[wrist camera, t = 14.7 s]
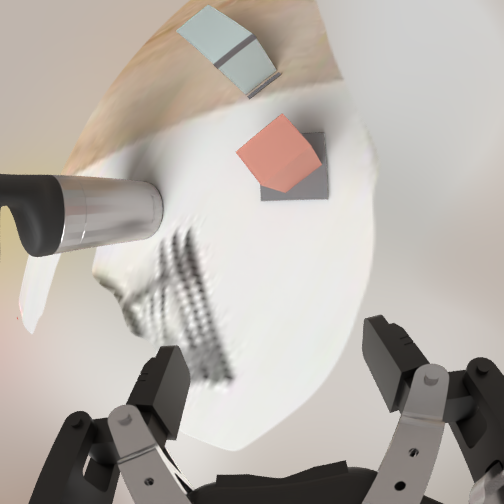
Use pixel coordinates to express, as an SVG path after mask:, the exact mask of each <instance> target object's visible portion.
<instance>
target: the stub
mask: <svg viewBox="0 0 504 504" xmlns="http://www.w3.org/2000/svg"><path fill="white" fill-rule="evenodd" d="M236 153H237V155H238V156H239V157H240V158H241V160H242V161H243V162H244V163H245V165H246V166H247V167H248V169H249V170H250V171H251V172H252V174H253V175H254V176H255V178H256V179H257V180H258V182H259V183H260V184H261V186H265V187H268V188H271V189H274V190H277V191H281V192H284V193H286V192H287V191H289V190H290V189H291V188H293V187H294V186H295V185H296V184H298V183H299V182H300V181H302V180H303V179H304V178H306V177H307V176H308V175H309V174H311V173H312V172H313V171H315V170H316V169H317V168H319V167H320V166H321V165H322V164H321V162H320V160H319V158H318V157H317V155H316V153H315V151H314V150H313V148H312V146H311V145H310V144H309V143H308V141H307V140H306V139H305V138H304V137H303V136H302V134H301V133H300V132H299V131H298V130H297V129H296V128H295V127H294V125H293V124H292V123H291V122H290V121H289V120H288V119H287V118H286V117H285V116H284V115H283V114H281V115H280V116H278V117H277V118H276V119H275V120H273V121H272V122H271V123H270V124H268V125H267V126H266V127H265V128H264V129H262V130H261V131H260V132H259V133H257V134H256V135H255V136H254V137H253V138H252V139H250V140H249V141H248V142H247V143H246V144H244V145H243V146H242V147H241V148H240V149H239V150H238V151H236Z"/></svg>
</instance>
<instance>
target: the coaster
mask: <svg viewBox="0 0 504 504" xmlns="http://www.w3.org/2000/svg"><path fill="white" fill-rule="evenodd" d="M302 136H303V137H304V138H305V139H306V140H307V141H308V143H309V144H310V145H311V146H312V148H313V150H314V151H315V153H316V155H317V157H318V158H319V160H320V162H321V164H322V165H321V166H320V167H319V168H317V169H316V170H315V171H313V172H312V173H311V174H309V175H308V176H307V177H306V178H304V179H303V180H302V181H300V182H299V183H298V184H296V185H295V186H294V187H293V188H291V189H290V190H289V191H287V192H286V193H284V192H281V191H277V190H274V189H271V188H268V187H265V186H261V184H260V188H261V201H281V200H319V199H328V185H327V166H326V151H325V139H324V132H319V133H303V134H302Z"/></svg>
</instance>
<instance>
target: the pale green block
mask: <svg viewBox="0 0 504 504" xmlns="http://www.w3.org/2000/svg"><path fill="white" fill-rule="evenodd" d="M177 32H178V33H179V34H180V35H181V36H183V37H184V38H185V39H186V40H187V41H188V42H190V43H191V44H192V45H193V46H194V47H195V48H196V49H197V50H199V51H200V52H201V53H202V54H203V55H204V56H205V57H206V58H207V59H208V60H209V61H211V62H212V63H213V65H214V66H215V67H216V68H217V69H219V70H220V71H221V72H222V73H223V74H225V75H226V76H227V77H228V78H229V79H230V80H231V81H232V82H233V83H234V84H235V85H236V86H237V87H238V88H239V89H240V90H241V91H242V92H243V93H244V94H245V95H246V94H247V93H249V92H250V91H251V90H252V89H254V88H255V87H256V86H257V85H259V84H260V83H261V82H262V81H264V80H265V79H266V78H268V77H269V76H270V75H272V74H273V73H274V72H276V71H277V70H276V68H275V67H274V65H273V63H272V62H271V60H270V59H269V57H268V56H267V54H266V52H265V51H264V49H263V48H262V46H261V45H260V43H259V42H258V40H257V38H256V36H255V35H254V34H252V33H251V32H249V31H248V30H247V29H245V28H244V27H242V26H241V25H239V24H238V23H237V22H235V21H234V20H232V19H231V18H229V17H227V16H226V15H224V14H223V13H221V12H220V11H218V10H216V9H215V8H213V7H211V6H210V5H207V6H206V7H205V8H203V9H202V10H201V11H199V12H198V13H197V14H196V15H194V16H193V17H192V18H191V19H189V20H188V21H187V22H186V23H185V24H183V25H182V26H181V27H180V28H179V29H178V30H177ZM280 75H281V74H280V73H277V74H276V75H275V76H273V77H272V78H271V79H269V80H268V81H267V82H265V83H264V84H263V85H261V86H260V87H259V88H258V89H256V90H255V91H254V92H253V93H251V94H250V95H249V96H248V98H249V99H250V98H252V97H253V96H254V95H255V94H257V93H258V92H259V91H260V90H262V89H263V88H264V87H265V86H267V85H268V84H269V83H271V82H272V81H273V80H275V79H276V78H277V77H279V76H280Z"/></svg>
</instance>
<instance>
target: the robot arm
mask: <svg viewBox="0 0 504 504" xmlns="http://www.w3.org/2000/svg"><path fill="white" fill-rule="evenodd" d="M2 206H8V207H9V209H10V211H11V213H12V215H13V217H14V220H15V223H16V227H17V231H18V234H19V237H20V240H21V243H22V245H23V247H24V248H25V250H26V251H27V253H29V254H30V255H31V256H34V257H42V256H47V255H52V254H57V253H63V252H69V251H73V250H79V249H85V248H91V247H98V246H104V245H110V244H117V243H123V242H131V241H137V240H144V239H147V238H149V237H151V236H152V235H153V234H154V233H155V232H156V231H157V229H158V228H159V226H160V223H161V220H162V214H163V206H162V200H161V196H160V194H159V192H158V190H157V189H156V188H155V187H154V186H153V185H152V184H150V183H148V182H142V181H133V180H124V179H112V178H99V177H85V176H65V175H8V174H0V208H1V207H2ZM362 351H363V356H364V359H365V361H366V363H367V365H368V367H369V369H370V371H371V374H372V376H373V378H374V380H375V382H376V384H377V386H378V388H379V390H380V392H381V394H382V396H383V399H384V401H385V403H386V405H387V407H388V409H389V411H390V413H391V412H394V411H397V410H399V411H400V413H401V417H400V419H399V422H398V425H397V428H396V430H395V433H394V435H393V438H392V440H391V443H390V445H389V447H388V449H387V452H386V454H385V456H384V458H383V460H382V462H381V465H380V467H379V469H378V471H374V470H370V469H366V468H360V467H347V464H346V460H345V461H340V462H336V463H332V464H327V465H322V466H317V467H313V468H310V469H308V470H305V471H302V472H300V473H297V474H294V475H291V476H288V477H285V478H269V477H262V476H255V475H249V474H246V475H245V474H244V475H217V478H216V482H213V483H210V484H206V485H204V486H201V487H199V488H197V489H195V488H194V487H193V486H192V485H191V483H190V482H189V481H188V480H187V479H186V477H185V476H184V475H183V473H182V472H181V470H180V468H179V467H178V465H177V464H176V462H175V461H174V459H173V458H172V456H171V455H170V453H169V451H168V450H167V448H166V447H165V443H166V440H176V438H177V434H178V430H179V426H180V422H181V418H182V414H183V410H184V406H185V402H186V398H187V394H188V390H189V386H190V373H189V370H188V367H187V365H186V362H185V360H184V357H183V355H182V352H181V350H180V348H179V346H177V345H176V346H161V347H160V349H159V351H158V353H157V355H156V358H151V359H150V360H149V361H148V362H147V363H146V364H145V365H144V367H143V369H142V371H141V375H139V377H138V379H137V382H136V384H135V386H134V388H133V390H132V392H131V394H130V397H129V399H128V401H127V403H126V405H122V406H119V407H117V408H115V409H114V410H113V411H112V412H111V413H110V414H109V417H108V418H102V419H92V418H91V417H90V416H89V414H88V413H86V412H84V411H77V412H74V413H72V414H70V415H69V416H68V417H67V418H66V420H65V422H64V424H63V426H62V428H61V430H60V432H59V434H58V436H57V438H56V440H55V442H54V444H53V446H52V448H51V451H50V453H49V455H48V457H47V459H46V461H45V464H44V466H43V468H42V471H41V473H40V476H39V478H38V481H37V483H36V485H35V488H34V491H33V493H32V496H31V499H30V501H29V504H112V502H113V498H114V494H115V490H116V486H117V482H118V478H119V475H120V472H121V474H122V476H123V479H124V481H125V484H126V486H127V488H128V490H129V492H130V494H131V496H132V498H133V500H134V502H135V504H443V503H441V502H438V501H436V500H433V499H431V498H429V497H427V496H425V495H424V492H425V490H426V487H427V485H428V482H429V479H430V476H431V473H432V470H433V467H434V464H435V461H436V458H437V454H438V450H439V447H440V443H441V439H442V435H443V431H444V425H445V423H449V425H450V427H451V429H452V432H453V434H454V436H455V438H456V440H457V442H458V444H459V447H460V449H461V451H462V453H463V456H464V458H465V461H466V463H467V465H468V468H469V470H470V473H471V475H472V478H473V480H474V483H475V484H474V485H473V487H472V489H471V491H470V495H469V504H504V375H503V374H502V373H501V372H500V370H499V369H498V368H497V366H496V365H495V364H494V363H493V362H492V361H491V360H489V359H487V358H483V357H480V358H479V357H478V358H475V359H473V360H471V361H470V362H469V364H468V366H467V368H466V370H461V371H453V372H447V370H446V369H445V368H444V367H442V366H440V365H437V364H430V363H429V362H428V360H427V359H426V358H425V356H424V355H423V354H422V352H421V351H420V350H419V348H418V347H417V346H416V344H415V343H413V340H412V339H411V338H410V337H409V335H408V334H407V333H406V331H405V330H404V329H403V328H402V327H400V326H398V325H396V324H395V323H392V324H389V323H388V322H387V321H386V319H385V318H384V317H383V316H382V315H377V316H373V317H369V318H365V319H364V326H363V342H362ZM88 455H89V456H90V457H91V458H90V461H89V463H88V466H87V469H86V472H85V475H84V476H83V467H84V464H85V461H86V459H87V456H88Z"/></svg>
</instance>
